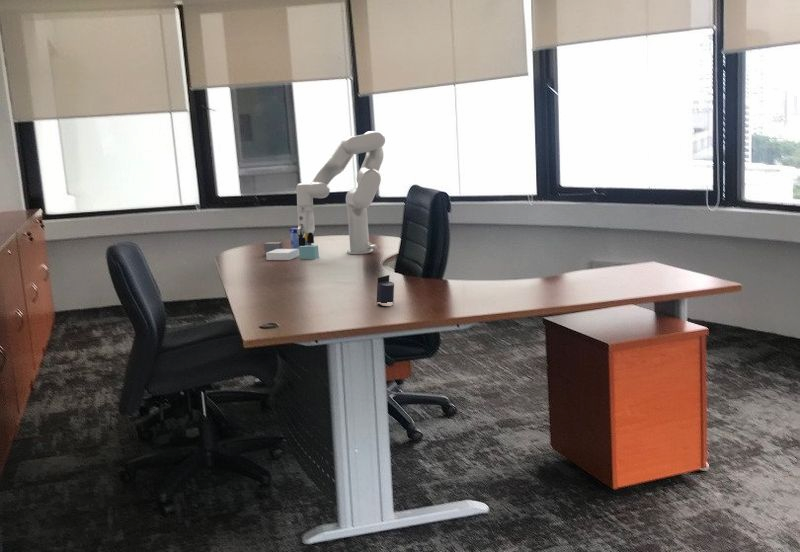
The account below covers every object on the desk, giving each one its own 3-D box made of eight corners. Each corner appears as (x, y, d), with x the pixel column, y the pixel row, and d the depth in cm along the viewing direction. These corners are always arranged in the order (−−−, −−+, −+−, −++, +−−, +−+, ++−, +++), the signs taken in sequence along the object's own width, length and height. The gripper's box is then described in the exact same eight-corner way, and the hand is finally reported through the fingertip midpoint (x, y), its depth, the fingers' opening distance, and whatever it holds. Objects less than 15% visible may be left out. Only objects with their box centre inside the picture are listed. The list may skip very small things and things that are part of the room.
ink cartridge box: (295, 253, 456) (292, 224, 454) (290, 252, 461) (288, 223, 459) (312, 250, 461) (310, 222, 459) (308, 249, 466) (306, 221, 463)
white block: (299, 255, 448) (299, 248, 447) (289, 260, 436) (288, 252, 436) (277, 255, 452) (277, 248, 451) (266, 259, 440) (266, 252, 440)
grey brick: (283, 253, 457) (282, 242, 456) (279, 255, 453) (278, 243, 452) (269, 253, 460) (268, 242, 459) (265, 255, 456) (264, 243, 455)
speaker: (372, 303, 327) (373, 275, 325) (387, 302, 330) (388, 274, 327) (380, 309, 321) (381, 281, 318) (395, 308, 323) (396, 280, 320)
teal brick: (318, 257, 440) (318, 245, 439) (315, 259, 436) (314, 246, 435) (303, 257, 443) (302, 245, 442) (299, 259, 439) (299, 246, 438)
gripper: (304, 211, 426) (305, 247, 429) (319, 207, 442) (320, 242, 445) (290, 210, 428) (291, 246, 431) (305, 207, 444) (306, 242, 447)
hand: (306, 244), depth 438 cm, fingers open, 9 cm apart
